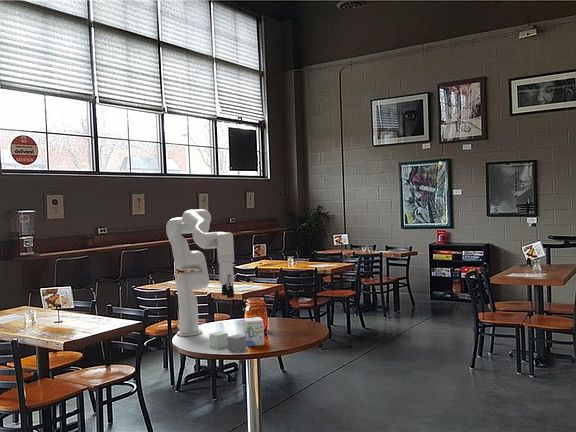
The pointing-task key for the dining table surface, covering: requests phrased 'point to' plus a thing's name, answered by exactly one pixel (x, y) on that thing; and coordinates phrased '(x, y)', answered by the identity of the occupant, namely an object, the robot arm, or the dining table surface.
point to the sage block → (218, 339)
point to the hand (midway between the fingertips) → (228, 296)
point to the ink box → (254, 331)
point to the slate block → (236, 343)
